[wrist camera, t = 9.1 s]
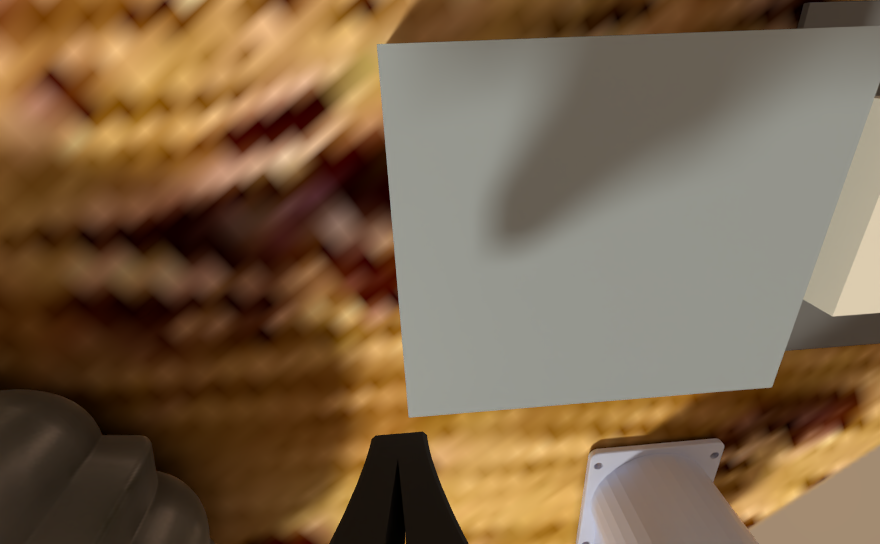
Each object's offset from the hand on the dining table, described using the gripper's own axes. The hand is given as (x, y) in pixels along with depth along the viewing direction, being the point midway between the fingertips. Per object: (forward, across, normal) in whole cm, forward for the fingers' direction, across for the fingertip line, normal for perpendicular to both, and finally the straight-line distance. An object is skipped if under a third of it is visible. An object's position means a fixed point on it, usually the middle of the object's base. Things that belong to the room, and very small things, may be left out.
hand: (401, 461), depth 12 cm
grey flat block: (+10, -8, -3) cm, 13 cm away
